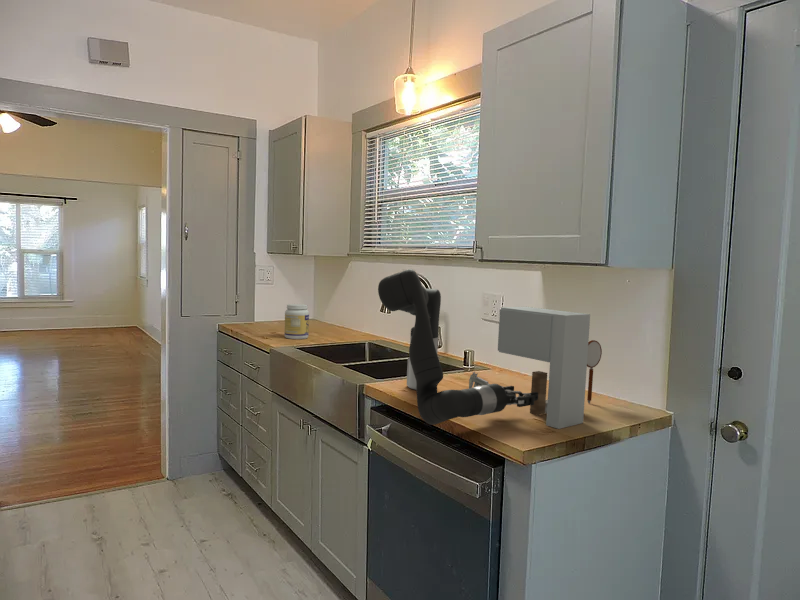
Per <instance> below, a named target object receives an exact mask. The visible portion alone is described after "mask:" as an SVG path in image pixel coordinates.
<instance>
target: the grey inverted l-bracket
mask: <svg viewBox="0 0 800 600" xmlns="http://www.w3.org/2000/svg"><path fill="white" fill-rule="evenodd" d="M590 321H591V313H582V312H573V311H565V310H556V309H548V308H540V307H533V306H531V307H530V306H505V307H504V306H503V307H501V308H500V309H499V320H498V335H497V336H498V337H497V338H498V339H497V351H498V353H503V354H507V355H510V356H516V357H520V358H526V359H531V360H535V361H536V360H537V361H540V362H546V363H549V372H548V386H547V388H548V390H547V400H548V403H547V413H546V421H545V422H546V423H545V425H546V426H547V427H551V428H554V429H558V430H560V429H564V428H570V427H573V426H576V425H579V424H580V425H581V424H583V423H584V416H585V415H584V413H585V402H586V401H585V400H586V399H585V398H586V387H587V386H586V385H587V370H588V367H587V356H588V342H589V341H590V340H589V338H590V326H591V325H590V323H591V322H590Z"/></svg>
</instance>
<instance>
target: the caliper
mask: <svg viewBox="0 0 800 600" xmlns="http://www.w3.org/2000/svg"><path fill="white" fill-rule="evenodd" d="M478 374H479V373H476V371H473V372H472V374H470V376H469V379H468V389H469V388H473V387H476V386H482V385H489V384H490V383H489V381H488V380H485V379H483V378H482V377H479V376H478ZM517 397H518V396H516V399H517Z"/></svg>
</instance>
